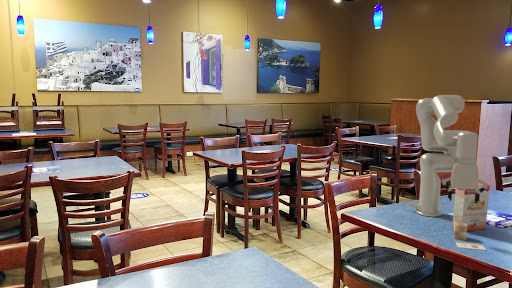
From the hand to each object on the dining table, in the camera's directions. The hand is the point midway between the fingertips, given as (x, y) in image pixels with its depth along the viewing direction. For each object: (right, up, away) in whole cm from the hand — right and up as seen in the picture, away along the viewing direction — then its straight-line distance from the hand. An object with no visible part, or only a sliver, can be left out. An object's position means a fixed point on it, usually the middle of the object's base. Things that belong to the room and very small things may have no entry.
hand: (462, 201), depth 164 cm
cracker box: (+10, -15, +14) cm, 23 cm away
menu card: (-1, -17, -7) cm, 18 cm away
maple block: (0, -16, +2) cm, 16 cm away
